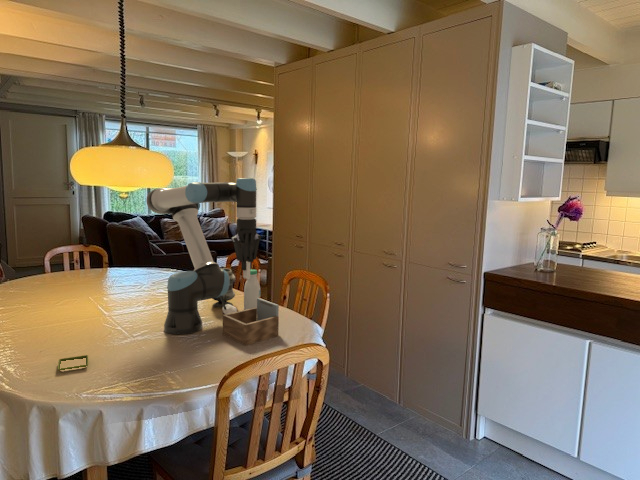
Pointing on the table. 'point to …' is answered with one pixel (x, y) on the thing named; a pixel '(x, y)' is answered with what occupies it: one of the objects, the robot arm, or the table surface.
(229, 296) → the apothecary jar
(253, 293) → the milk bottle
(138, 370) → the table surface
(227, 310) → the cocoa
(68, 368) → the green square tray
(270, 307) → the panel
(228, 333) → the crate
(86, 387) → the table surface
